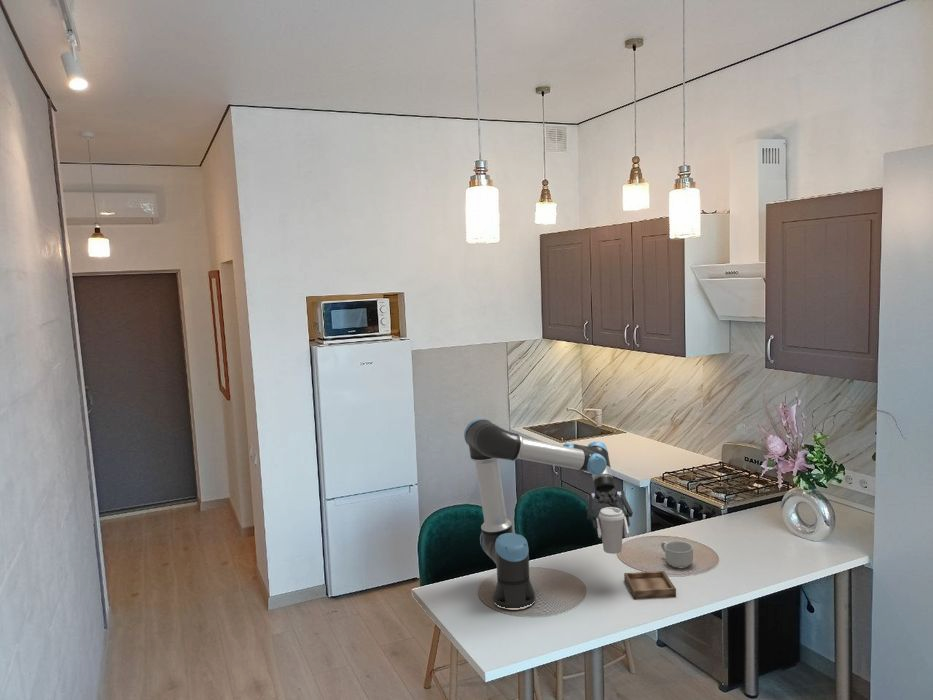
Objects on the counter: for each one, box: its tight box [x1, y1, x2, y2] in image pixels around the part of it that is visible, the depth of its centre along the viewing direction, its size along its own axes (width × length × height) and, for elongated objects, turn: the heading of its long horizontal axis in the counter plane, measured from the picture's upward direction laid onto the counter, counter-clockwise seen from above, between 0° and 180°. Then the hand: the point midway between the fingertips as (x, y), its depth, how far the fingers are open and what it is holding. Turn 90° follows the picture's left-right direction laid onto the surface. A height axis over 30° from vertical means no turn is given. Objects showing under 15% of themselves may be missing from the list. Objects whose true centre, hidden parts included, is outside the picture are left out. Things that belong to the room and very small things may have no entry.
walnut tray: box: [623, 570, 677, 600], centre depth 254 cm, size 15×15×3 cm
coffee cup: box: [597, 506, 625, 555], centre depth 254 cm, size 10×10×15 cm
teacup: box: [660, 540, 694, 568], centre depth 274 cm, size 14×11×8 cm
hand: (613, 535), depth 251 cm, fingers closed on coffee cup, 9 cm apart
